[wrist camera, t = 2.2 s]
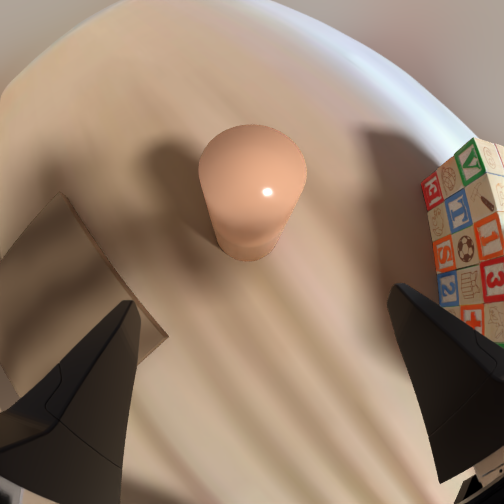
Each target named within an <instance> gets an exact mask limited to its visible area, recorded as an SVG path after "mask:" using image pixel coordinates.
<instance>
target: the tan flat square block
mask: <svg viewBox="0 0 504 504" xmlns="http://www.w3.org/2000/svg"><path fill="white" fill-rule="evenodd" d="M122 300H134V301H135V303H136V306H137V309H138V311H139V314H140V317H141V330H140V341H139V353H138V363H137V365H138V364H140V363H141V362H142V361H143V360H144V359H145V358H146V357H147V356H148V355H149V354H151V353H152V352H153V351H154V350H155V349H156V348H157V347H158V346H159V345H160V344H161V343H163V342H164V341H165V340H166V339H167V338H168V337H169V336H168V335H167V334H166V332H165V331H164V330H163V329H162V328H161V327H160V326H159V324H158V323H157V322H156V321H155V320H154V318H153V317H152V316H151V315H150V314H149V312H148V311H147V310H146V309H145V308H144V306H143V305H142V304H141V303H140V301H139V300H138V299H137V298H136V296H135V295H134V294H133V292H132V291H131V290H130V289H129V287H128V286H127V285H126V283H125V282H124V281H123V279H122V278H121V277H120V275H119V274H118V273H117V271H116V270H115V269H114V267H113V266H112V265H111V263H110V262H109V260H108V259H107V258H106V256H105V255H104V253H103V252H102V251H101V249H100V248H99V246H98V245H97V243H96V242H95V240H94V239H93V237H92V236H91V234H90V233H89V231H88V230H87V228H86V227H85V225H84V224H83V222H82V221H81V219H80V218H79V216H78V214H77V213H76V211H75V210H74V208H73V206H72V205H71V203H70V201H69V200H68V198H67V197H66V196H64V195H63V194H62V193H60V192H59V193H58V194H57V195H56V196H55V197H54V198H53V199H52V200H51V201H50V202H49V203H48V204H47V205H46V206H45V208H44V209H43V210H42V211H41V212H40V213H39V214H38V215H37V216H36V218H35V219H34V220H33V221H32V222H31V223H30V225H29V226H28V227H27V228H26V229H25V231H24V232H23V233H22V234H21V235H20V237H19V238H18V239H17V240H16V242H15V243H14V244H13V246H12V247H11V248H10V250H9V251H8V252H7V253H6V255H5V256H4V258H3V259H2V260H1V262H0V364H1V366H2V368H3V370H4V371H5V373H6V375H7V377H8V378H9V380H10V382H11V384H12V385H13V387H14V389H15V390H16V392H17V393H18V395H19V397H20V398H21V397H23V396H24V395H25V394H26V393H27V392H28V391H29V390H30V389H32V388H33V387H34V386H35V385H36V384H37V383H38V382H39V381H40V380H41V379H43V378H44V377H45V376H46V375H47V374H48V373H49V372H50V371H51V370H52V369H53V368H54V366H55V365H56V364H57V363H59V362H60V360H61V359H62V358H63V357H64V356H65V355H66V354H67V353H68V352H69V351H70V350H71V349H72V348H73V347H74V346H75V345H76V344H77V343H78V342H79V341H80V340H81V339H82V338H83V337H84V336H85V335H86V334H87V333H88V332H89V331H90V330H91V329H93V328H94V327H95V326H96V325H97V324H98V323H99V322H100V321H101V320H102V319H103V318H104V317H105V316H106V315H107V314H108V313H109V312H110V311H111V310H112V309H113V308H114V307H116V306H117V305H118V304H119V303H120V302H121V301H122Z"/></svg>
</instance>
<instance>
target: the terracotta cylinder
mask: <svg viewBox="0 0 504 504" xmlns="http://www.w3.org/2000/svg"><path fill="white" fill-rule="evenodd" d="M306 177H307V169H306V163H305V160H304V157H303V155H302V153H301V151H300V149H299V148H298V146H297V145H296V144H295V143H294V142H293V141H292V140H291V139H290V138H289V137H287V136H286V135H285V134H283V133H281V132H280V131H278V130H275V129H273V128H270V127H267V126H262V125H241V126H236V127H233V128H230V129H227V130H225V131H223V132H222V133H220V134H218V135H217V136H216V137H215V138H213V139H212V140H211V141H210V142H209V143H208V145H207V146H206V148H205V149H204V151H203V153H202V155H201V158H200V162H199V179H200V183H201V187H202V190H203V194H204V197H205V201H206V204H207V208H208V211H209V215H210V219H211V222H212V225H213V229H214V232H215V236H216V239H217V242H218V244H219V246H220V248H221V249H222V250H223V251H224V252H225V253H226V254H227V255H229V256H230V257H232V258H234V259H236V260H240V261H255V260H258V259H261V258H263V257H265V256H266V255H268V254H269V253H270V252H271V251H272V250H273V248H274V247H275V245H276V243H277V241H278V239H279V237H280V235H281V233H282V231H283V229H284V227H285V225H286V223H287V221H288V219H289V217H290V215H291V213H292V211H293V209H294V207H295V205H296V203H297V201H298V199H299V197H300V195H301V192H302V190H303V188H304V185H305V182H306Z"/></svg>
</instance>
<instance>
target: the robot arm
mask: <svg viewBox="0 0 504 504" xmlns="http://www.w3.org/2000/svg"><path fill="white" fill-rule="evenodd" d="M387 308H388V311H389V315H390V318H391V322H392V325H393V329H394V332H395V336H396V339H397V343H398V345H399V348H400V351H401V353H402V356H403V359H404V362H405V364H406V367H407V370H408V373H409V376H410V379H411V382H412V384H413V387H414V391H415V394H416V397H417V400H418V403H419V406H420V409H421V413H422V416H423V420H424V423H425V426H426V430H427V434H428V436H429V437H428V438H429V442H430V445H431V449H432V453H433V457H434V462H435V466H436V470H437V475H438V480H439V483H440V484H441V483H443V482H445V481H447V480H449V479H451V478H453V477H455V476H457V475H458V474H460V473H462V472H464V471H465V470H467V469H469V468H471V467H472V466H473V467H474V470H475V473H476V474H475V475H473V476H472V477H470V478H468V479H467V480H465V481H463V483H462V486H461V488H460V491H459V493H458V495H457V497H456V500H455V502H454V504H504V348H503V347H501V346H499V345H498V344H496V343H494V342H493V341H491V340H490V339H488V338H487V337H485V336H484V335H482V334H481V333H479V332H478V331H477V330H475V329H473V328H472V327H471V326H469V325H468V324H466V323H465V322H463V321H462V320H460V319H459V318H457V317H456V316H454V315H453V314H451V313H450V312H448V311H447V310H445V309H444V308H442V307H441V306H439V305H438V304H436V303H435V302H433V301H432V300H430V299H429V298H427V297H425V296H424V295H422V294H421V293H419V292H418V291H416V290H414V289H413V288H411V287H410V286H408V285H406V284H405V283H396V284H394V285H393V286H392V288H391V291H390V294H389V297H388V300H387ZM140 330H141V317H140V314H139V311H138V309H137V306H136V303H135V301H134V300H122V301H121V302H120V303H119V304H118V305H117V306H116V307H114V308H113V309H112V310H111V311H110V312H109V313H108V314H107V315H106V316H105V317H104V318H103V319H102V320H101V321H100V322H99V323H98V324H97V325H96V326H95V327H94V328H93V329H91V330H90V331H89V332H88V333H87V334H86V335H85V336H84V337H83V338H82V339H81V340H80V341H79V342H78V343H77V344H76V345H75V346H74V347H73V348H72V349H71V350H70V351H69V352H68V353H67V354H66V355H65V356H64V357H63V358H62V359H61V360H60V362H59V363H57V364H56V365H55V366H54V368H53V369H52V370H51V371H50V372H49V373H48V374H47V375H46V376H45V377H44V378H43V379H41V380H40V381H39V382H38V383H37V384H36V385H35V386H34V387H33V388H32V389H30V390H29V391H28V392H27V393H26V394H25V395H24V396H23V397H21V398H20V399H19V400H18V401H17V402H16V403H15V404H14V405H13V406H11V407H10V408H9V409H7V410H6V411H3V412H1V413H0V504H120V491H121V478H122V465H123V455H124V446H125V438H126V430H127V423H128V416H129V409H130V403H131V397H132V391H133V385H134V379H135V374H136V369H137V363H138V353H139V341H140Z"/></svg>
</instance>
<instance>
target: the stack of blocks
mask: <svg viewBox="0 0 504 504" xmlns="http://www.w3.org/2000/svg"><path fill="white" fill-rule="evenodd" d="M421 186H422V190H423V194H424V198H425V203H426V207H427V210H428V213H427V215H428V221H429V226H430V232H431V237H432V241H433V251H434V258H435V266H436V273H437V280H438V290H439V304H440V306H441V307H442V308H444V309H445V310H447V311H448V312H450V313H451V314H453V315H454V316H456V317H457V318H459V319H460V320H462V321H463V322H465V323H466V324H468V325H469V326H471V327H472V328H473V329H475V330H477V331H478V332H479V333H481V334H482V335H484V336H485V337H487V338H488V339H490V340H491V341H493V342H494V343H496V344H498V345H499V346H501V347H503V348H504V146H501V145H498V144H493V143H490V142H487V141H484V140H481V139H478V138H474V137H473V138H472V139H470V140H469V141H468V142H467V143H466V144H465V145H464V146H463V147H461V148H460V149H459V150H458V151H457V152H456V153H455V154H454V156H453V157H451V158H450V159H449V160H447V161H446V162H445V163H444V164H443V165H441V166H440V167H439V168H438V169H437V170H436V171H435V172H434V173H432V174H431V175H430V176H429V177H427V178H426V179H425V180H424V181H422V182H421Z"/></svg>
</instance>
